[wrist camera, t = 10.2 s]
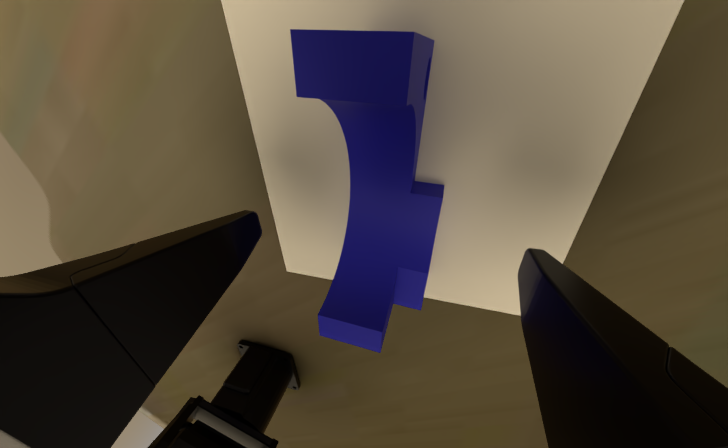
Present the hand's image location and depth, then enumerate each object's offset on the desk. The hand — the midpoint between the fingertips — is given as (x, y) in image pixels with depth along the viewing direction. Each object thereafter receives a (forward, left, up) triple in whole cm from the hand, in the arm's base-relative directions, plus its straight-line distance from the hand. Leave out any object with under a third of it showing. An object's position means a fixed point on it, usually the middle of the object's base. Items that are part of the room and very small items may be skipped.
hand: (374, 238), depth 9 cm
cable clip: (0, 0, -6) cm, 6 cm away
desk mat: (0, 0, -7) cm, 7 cm away
